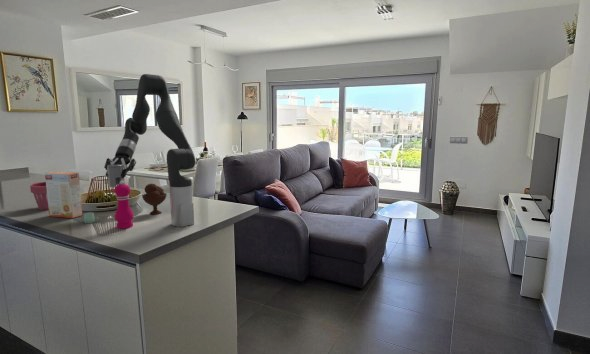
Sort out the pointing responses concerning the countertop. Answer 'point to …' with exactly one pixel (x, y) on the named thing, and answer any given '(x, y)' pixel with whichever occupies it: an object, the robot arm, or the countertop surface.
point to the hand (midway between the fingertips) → (114, 176)
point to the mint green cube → (89, 217)
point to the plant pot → (40, 195)
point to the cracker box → (63, 194)
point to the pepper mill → (123, 206)
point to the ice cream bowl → (154, 197)
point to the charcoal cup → (114, 174)
